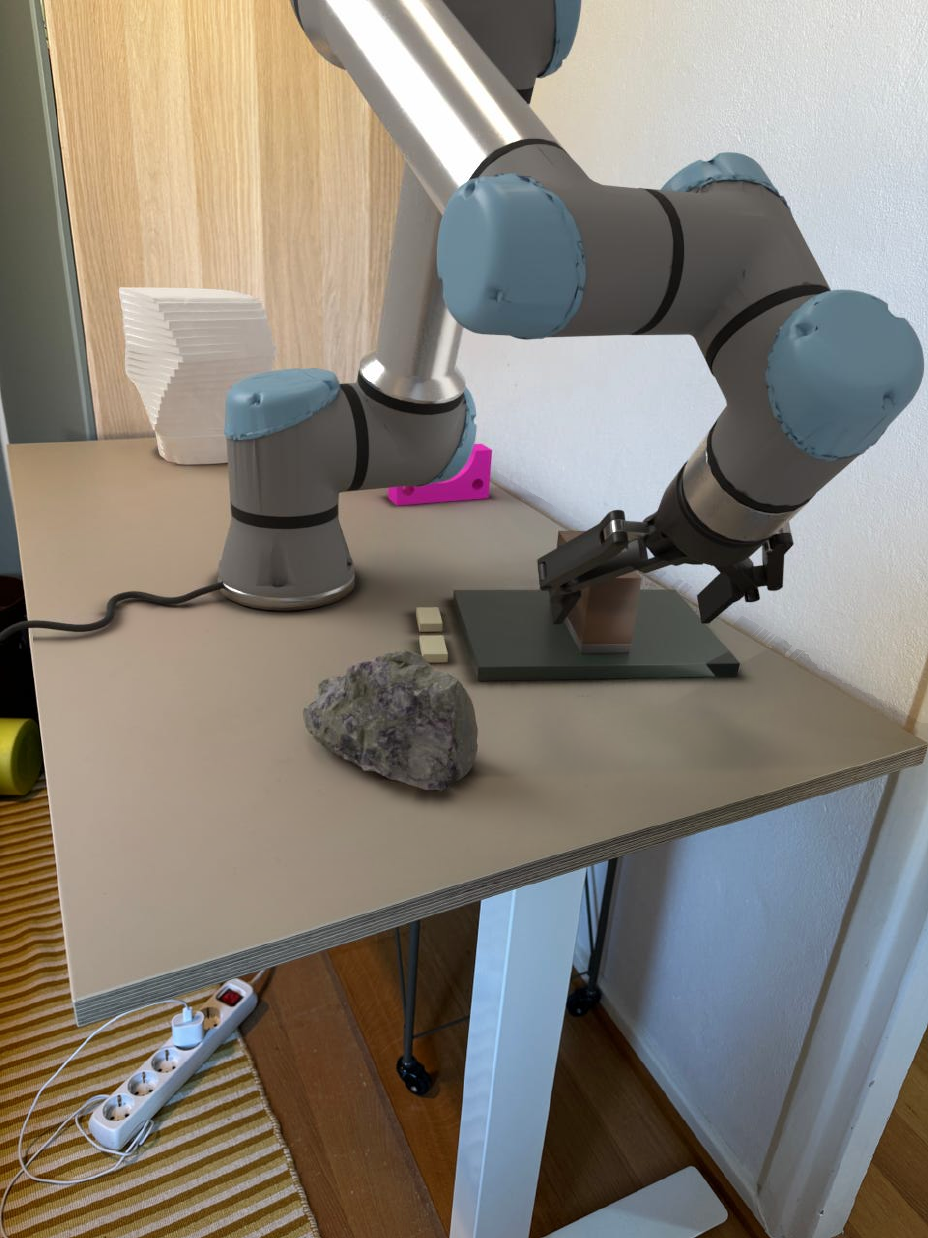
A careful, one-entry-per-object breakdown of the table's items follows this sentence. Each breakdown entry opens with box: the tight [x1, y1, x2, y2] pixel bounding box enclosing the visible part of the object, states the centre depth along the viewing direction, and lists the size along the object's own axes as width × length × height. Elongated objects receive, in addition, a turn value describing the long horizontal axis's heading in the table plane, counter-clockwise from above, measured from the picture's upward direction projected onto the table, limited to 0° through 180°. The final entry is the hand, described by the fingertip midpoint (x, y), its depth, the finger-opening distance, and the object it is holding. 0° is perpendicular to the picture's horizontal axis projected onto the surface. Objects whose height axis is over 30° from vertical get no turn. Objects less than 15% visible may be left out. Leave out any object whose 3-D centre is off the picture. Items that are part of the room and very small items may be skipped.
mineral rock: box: [302, 649, 479, 793], centre depth 68 cm, size 13×11×10 cm
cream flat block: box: [418, 634, 449, 664], centre depth 86 cm, size 4×2×1 cm, turn 8°
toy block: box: [387, 443, 493, 506], centre depth 132 cm, size 15×6×8 cm, turn 114°
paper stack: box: [118, 286, 277, 466], centre depth 141 cm, size 21×27×26 cm
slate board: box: [452, 588, 741, 682], centre depth 91 cm, size 18×26×2 cm
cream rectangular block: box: [415, 606, 443, 633], centre depth 92 cm, size 4×2×1 cm, turn 8°
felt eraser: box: [556, 530, 643, 653], centre depth 89 cm, size 13×5×8 cm, turn 8°
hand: (630, 609), depth 77 cm, fingers open, 13 cm apart
